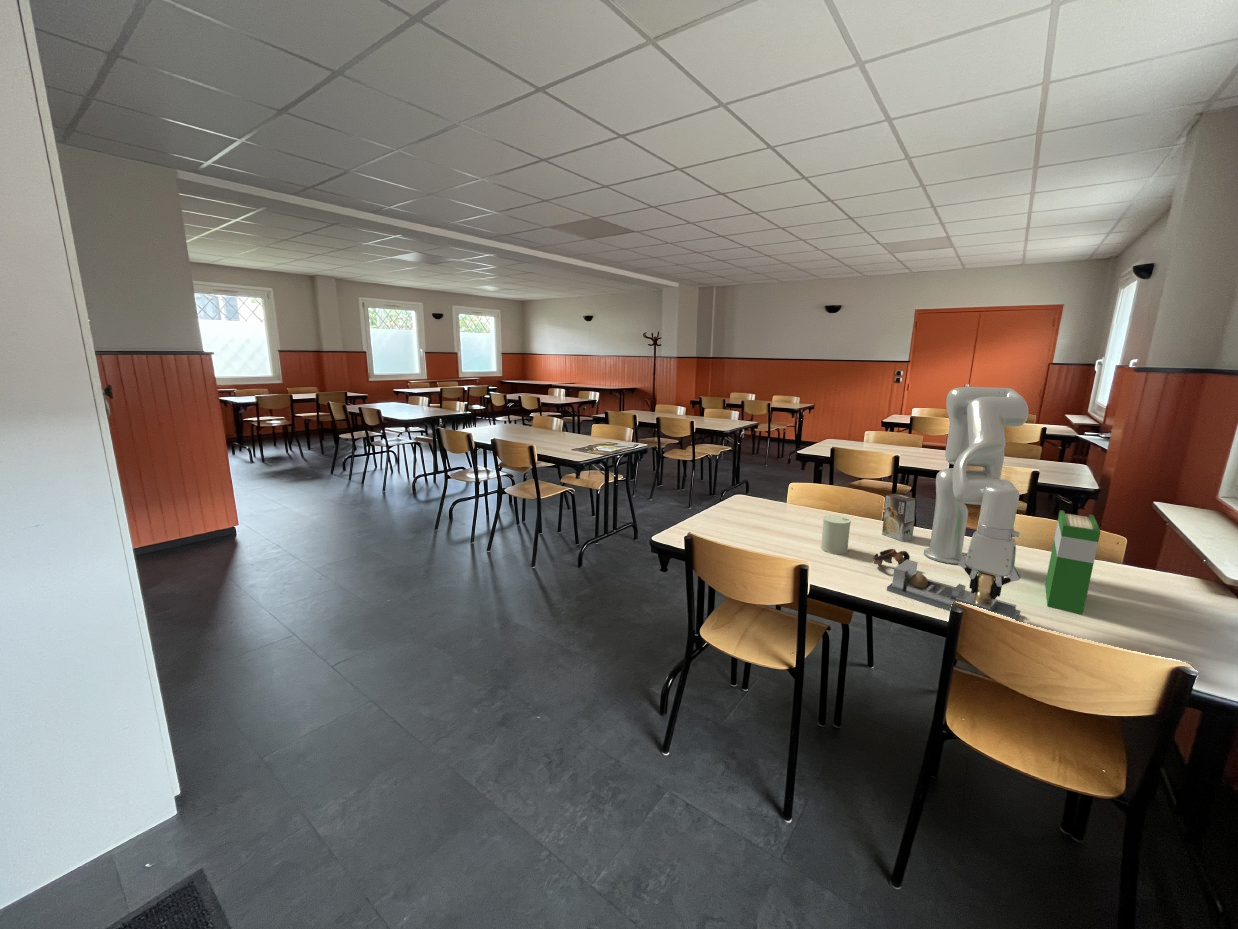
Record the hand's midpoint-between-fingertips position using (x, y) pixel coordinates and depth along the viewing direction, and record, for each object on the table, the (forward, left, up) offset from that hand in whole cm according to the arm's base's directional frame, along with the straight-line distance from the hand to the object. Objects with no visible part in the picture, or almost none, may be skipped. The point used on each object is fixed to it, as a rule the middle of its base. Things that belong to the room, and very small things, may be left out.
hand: (984, 594), depth 138 cm
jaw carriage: (0, -2, -4) cm, 4 cm away
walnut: (0, -16, -2) cm, 16 cm away
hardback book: (-27, +13, -6) cm, 31 cm away
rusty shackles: (-11, -27, -6) cm, 30 cm away
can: (-14, -49, -5) cm, 51 cm away
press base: (0, -8, -5) cm, 9 cm away
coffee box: (-45, -39, -5) cm, 60 cm away
